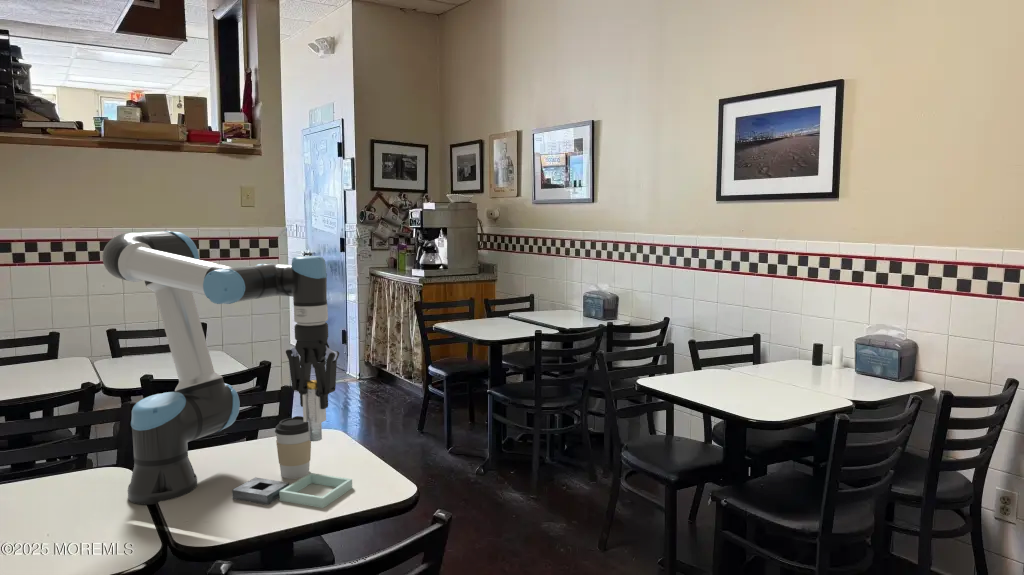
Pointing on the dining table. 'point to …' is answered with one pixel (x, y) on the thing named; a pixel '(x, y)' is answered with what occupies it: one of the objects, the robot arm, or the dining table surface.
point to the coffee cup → (293, 447)
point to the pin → (313, 412)
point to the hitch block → (259, 491)
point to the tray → (292, 496)
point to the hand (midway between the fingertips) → (314, 420)
